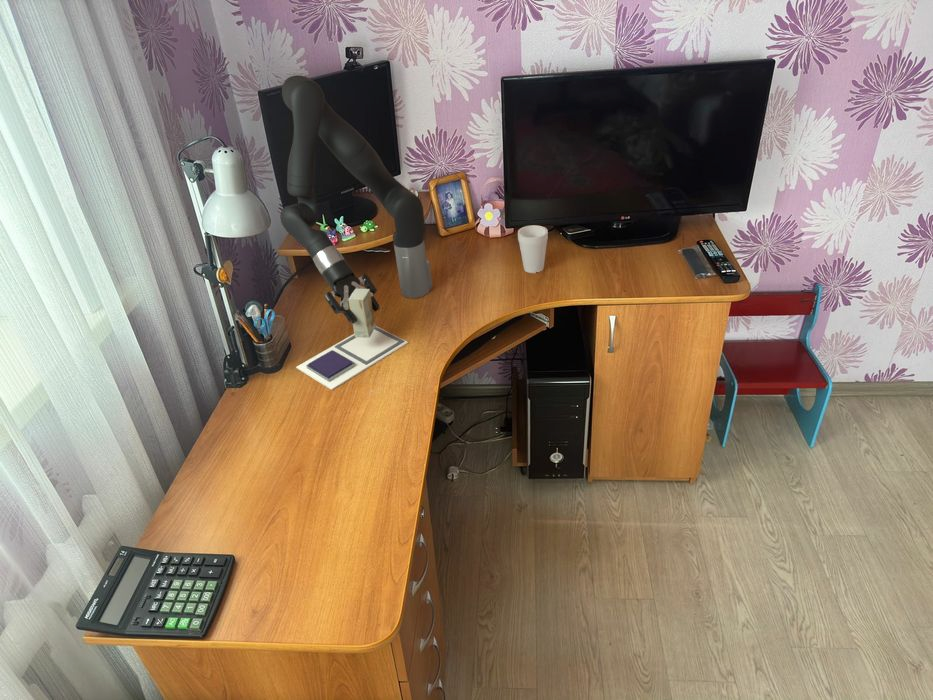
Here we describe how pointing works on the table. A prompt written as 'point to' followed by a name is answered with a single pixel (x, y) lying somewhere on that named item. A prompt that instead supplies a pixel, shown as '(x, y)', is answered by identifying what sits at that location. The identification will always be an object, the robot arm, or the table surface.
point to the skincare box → (362, 312)
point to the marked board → (358, 354)
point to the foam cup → (533, 247)
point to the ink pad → (330, 365)
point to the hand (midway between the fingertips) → (366, 316)
